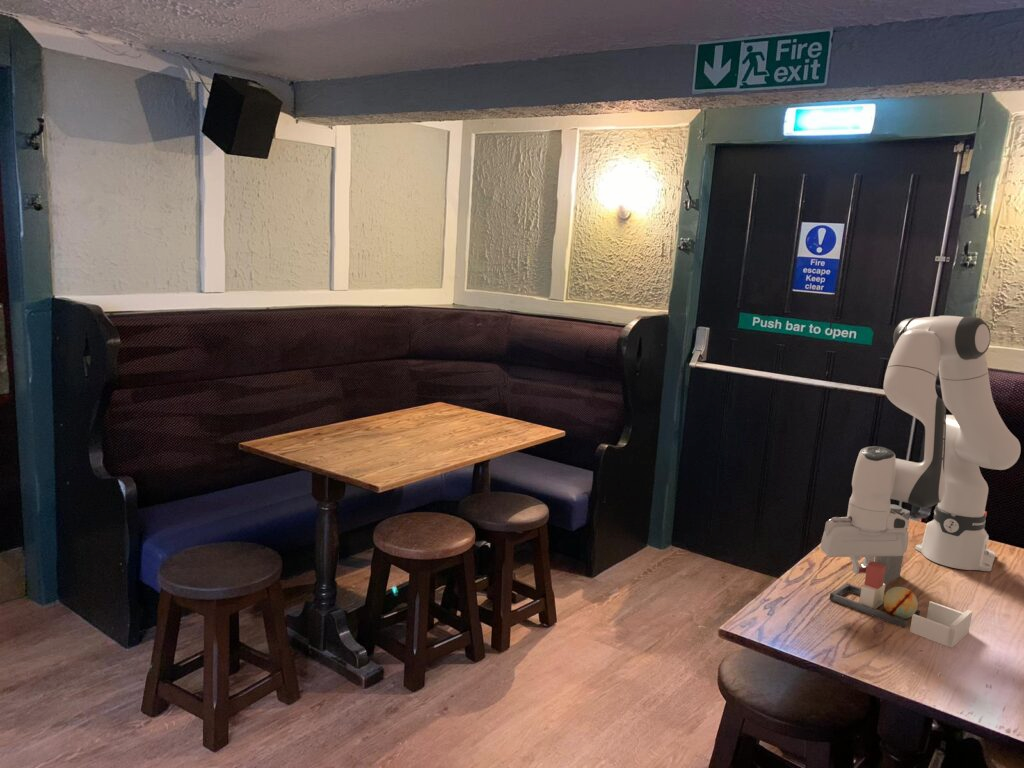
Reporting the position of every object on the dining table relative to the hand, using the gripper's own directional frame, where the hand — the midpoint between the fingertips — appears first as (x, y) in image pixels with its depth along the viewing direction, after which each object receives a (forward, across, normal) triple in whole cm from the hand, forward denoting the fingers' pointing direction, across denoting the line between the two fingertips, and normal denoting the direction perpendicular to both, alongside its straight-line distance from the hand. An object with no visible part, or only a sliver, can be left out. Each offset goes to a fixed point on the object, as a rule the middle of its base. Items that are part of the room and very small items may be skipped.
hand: (859, 572), depth 183 cm
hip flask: (+7, +14, +10) cm, 18 cm away
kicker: (+7, +2, -3) cm, 8 cm away
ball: (+7, +5, -8) cm, 12 cm away
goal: (+7, +10, -15) cm, 20 cm away
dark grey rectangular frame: (+7, +2, -4) cm, 8 cm away
